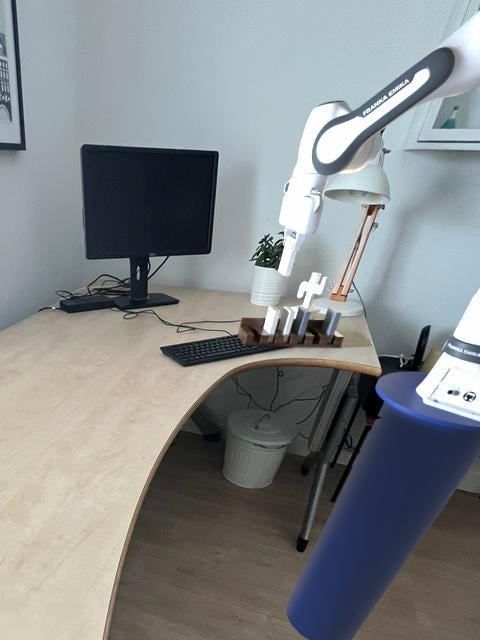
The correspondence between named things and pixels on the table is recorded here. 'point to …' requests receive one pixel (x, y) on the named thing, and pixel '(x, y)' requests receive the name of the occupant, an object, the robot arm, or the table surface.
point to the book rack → (313, 336)
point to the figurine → (311, 293)
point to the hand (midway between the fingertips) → (290, 248)
